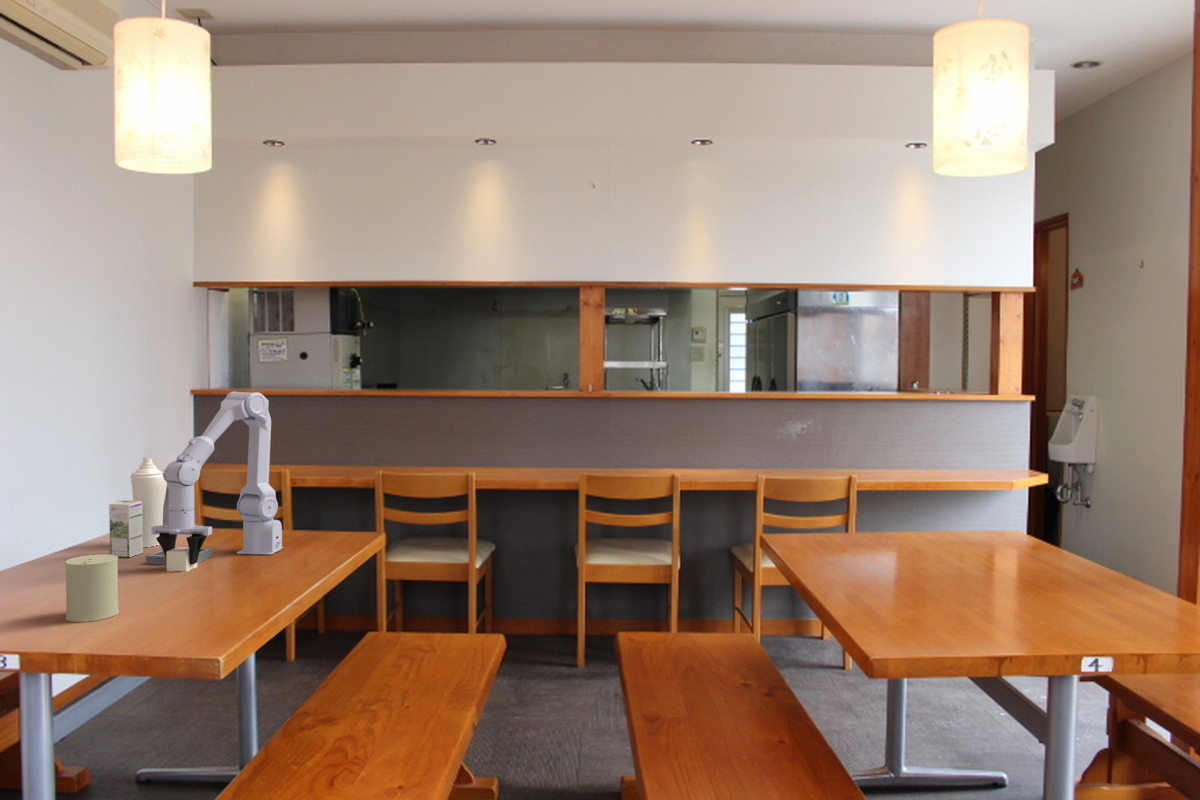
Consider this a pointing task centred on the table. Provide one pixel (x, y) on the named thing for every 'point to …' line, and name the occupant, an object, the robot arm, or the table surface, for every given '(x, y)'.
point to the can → (91, 587)
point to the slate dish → (161, 559)
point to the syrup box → (125, 528)
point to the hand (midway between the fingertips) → (182, 563)
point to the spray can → (149, 498)
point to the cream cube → (179, 560)
